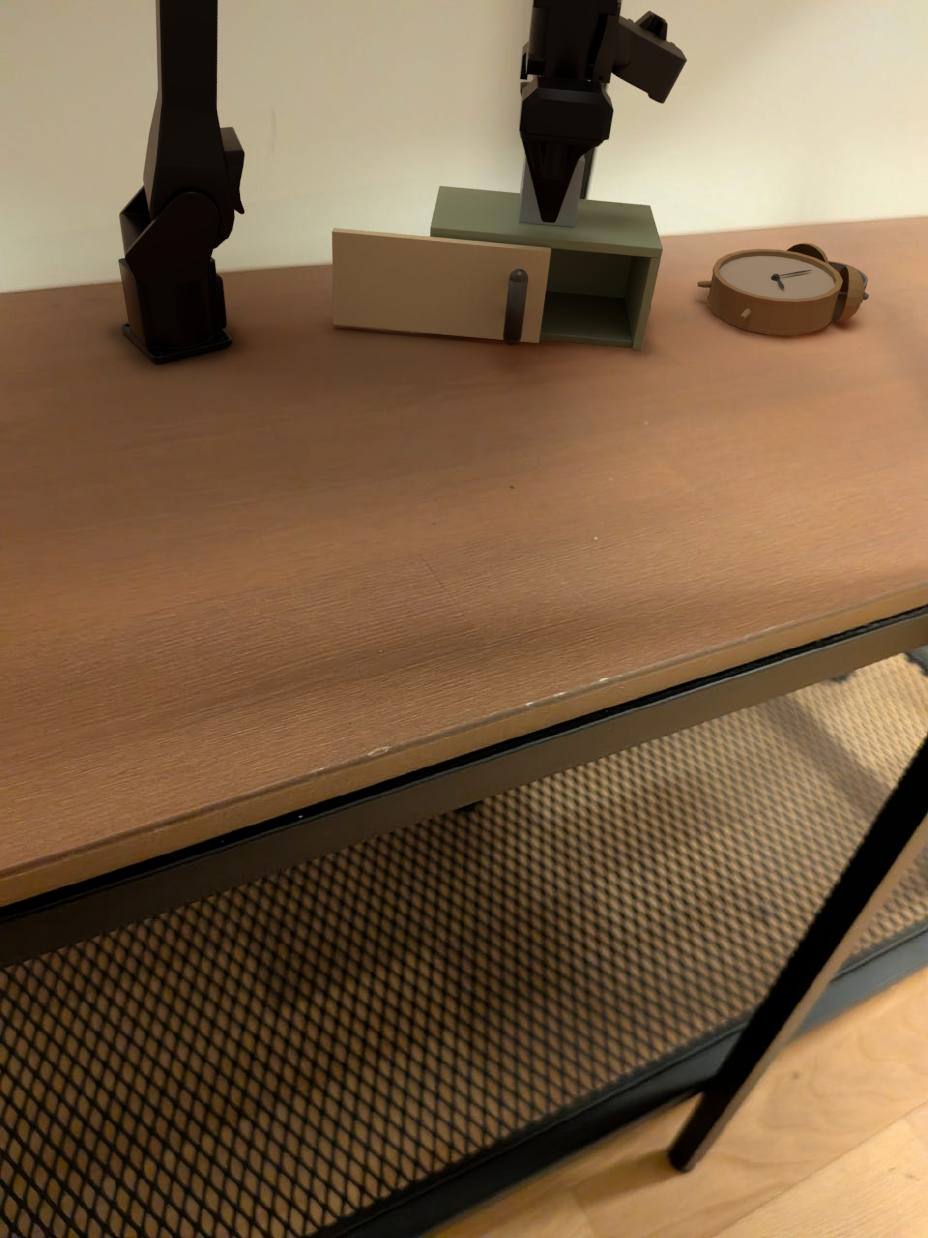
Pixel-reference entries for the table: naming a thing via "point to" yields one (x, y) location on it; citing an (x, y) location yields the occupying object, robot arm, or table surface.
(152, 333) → the robot arm
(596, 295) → the cabinet
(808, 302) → the alarm clock
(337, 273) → the door
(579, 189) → the block
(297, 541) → the table surface
